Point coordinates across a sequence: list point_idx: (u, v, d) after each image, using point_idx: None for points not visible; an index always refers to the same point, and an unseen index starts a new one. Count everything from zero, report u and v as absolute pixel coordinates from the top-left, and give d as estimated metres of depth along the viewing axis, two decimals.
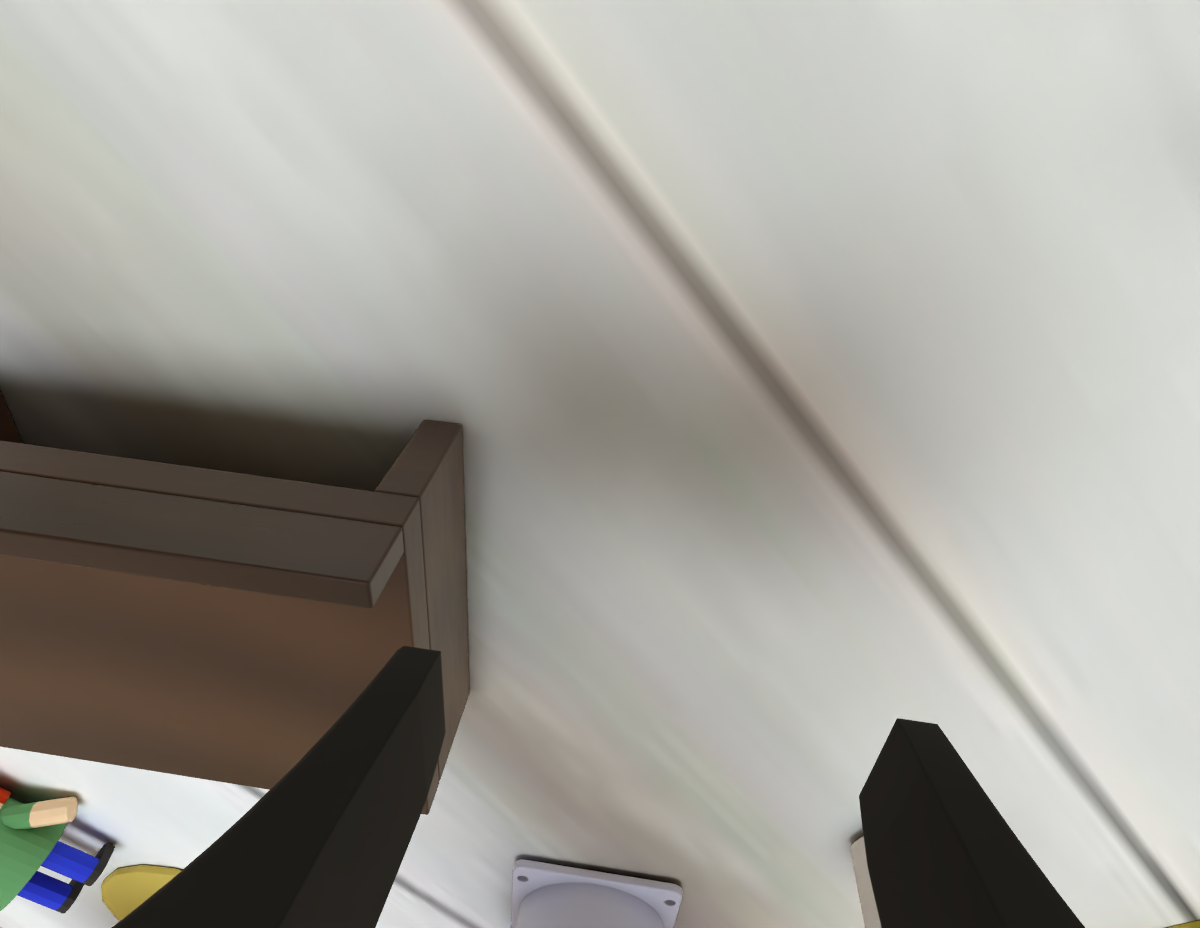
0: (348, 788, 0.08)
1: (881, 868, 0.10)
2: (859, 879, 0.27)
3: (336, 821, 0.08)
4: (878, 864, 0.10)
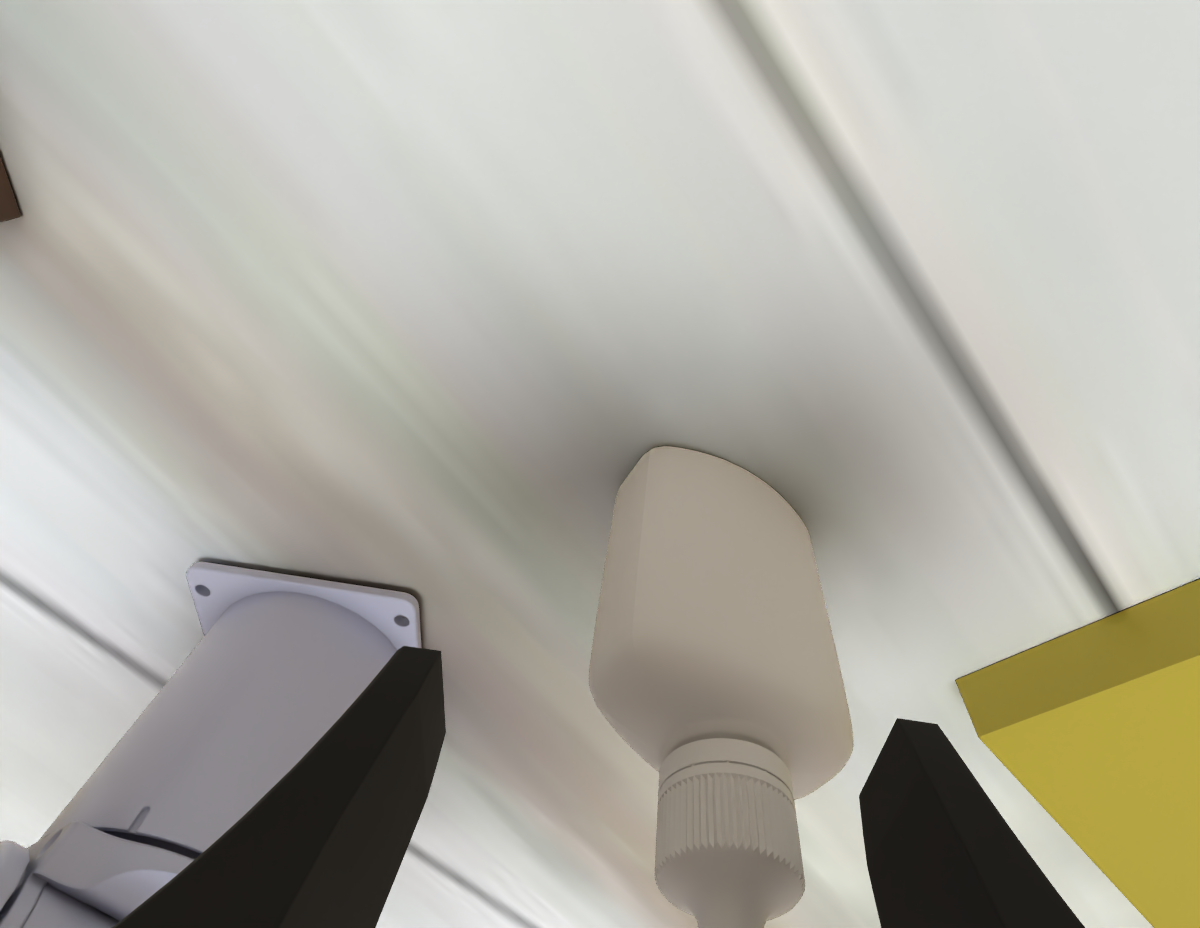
0: (348, 788, 0.08)
1: (881, 868, 0.10)
2: (614, 514, 0.18)
3: (336, 821, 0.08)
4: (878, 864, 0.10)
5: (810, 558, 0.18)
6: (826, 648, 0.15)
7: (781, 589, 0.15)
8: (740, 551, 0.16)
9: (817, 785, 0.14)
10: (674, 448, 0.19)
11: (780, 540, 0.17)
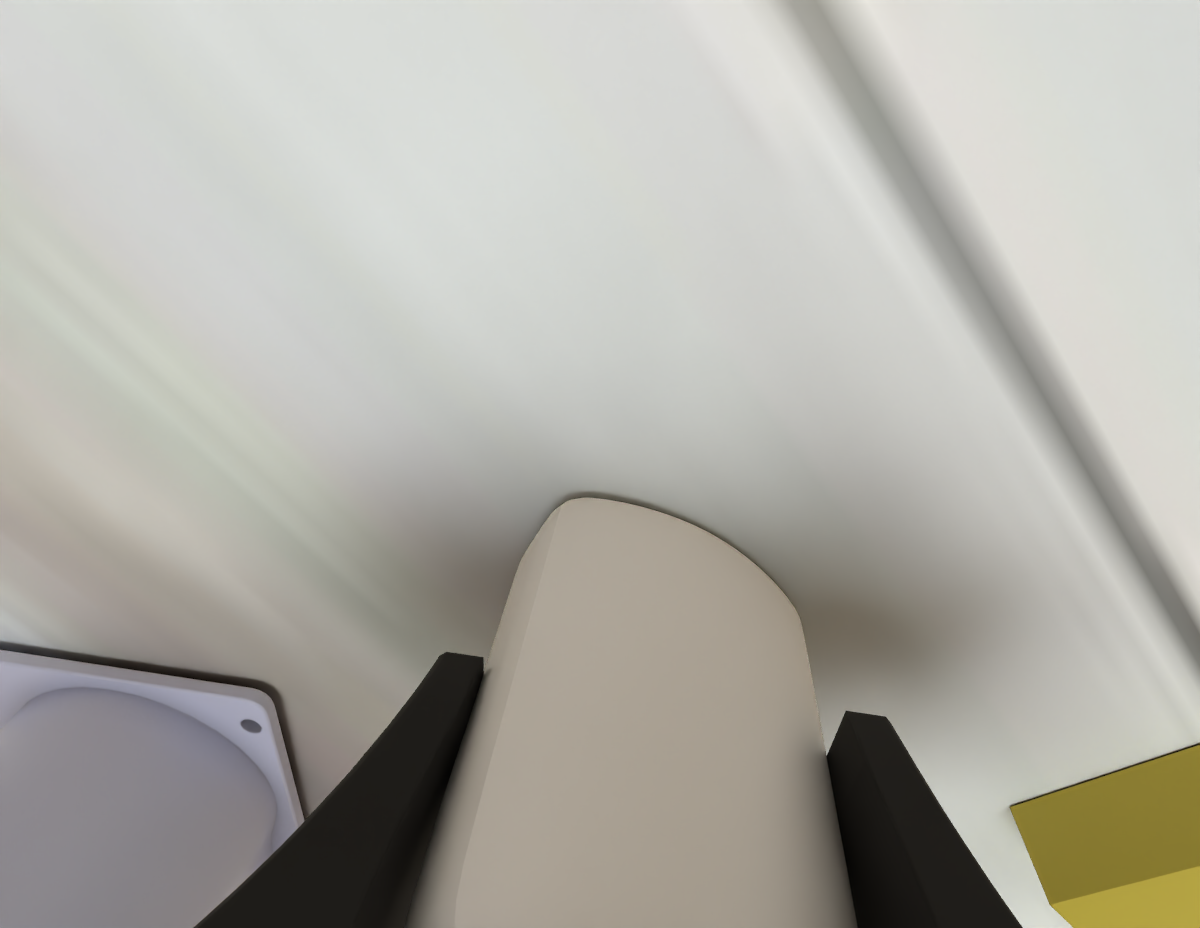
0: (403, 797, 0.08)
1: None
2: (506, 603, 0.12)
3: (394, 831, 0.08)
4: None
5: (802, 671, 0.12)
6: (826, 858, 0.09)
7: (750, 756, 0.09)
8: (683, 687, 0.10)
9: None
10: (598, 501, 0.13)
11: (754, 651, 0.11)
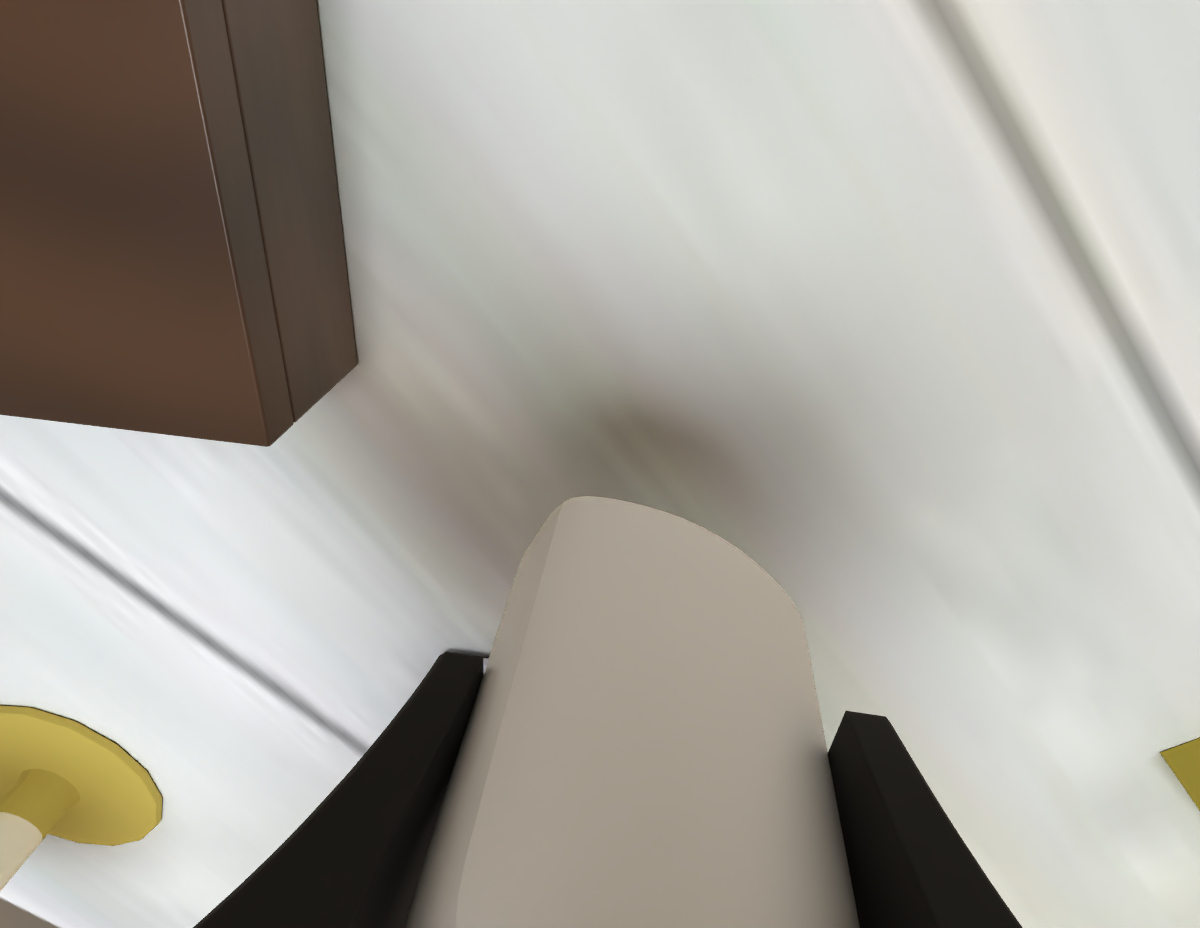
0: (403, 797, 0.08)
1: None
2: (507, 602, 0.12)
3: (394, 831, 0.08)
4: None
5: (803, 669, 0.12)
6: (828, 856, 0.09)
7: (751, 754, 0.09)
8: (683, 686, 0.10)
9: None
10: (599, 500, 0.13)
11: (755, 650, 0.11)
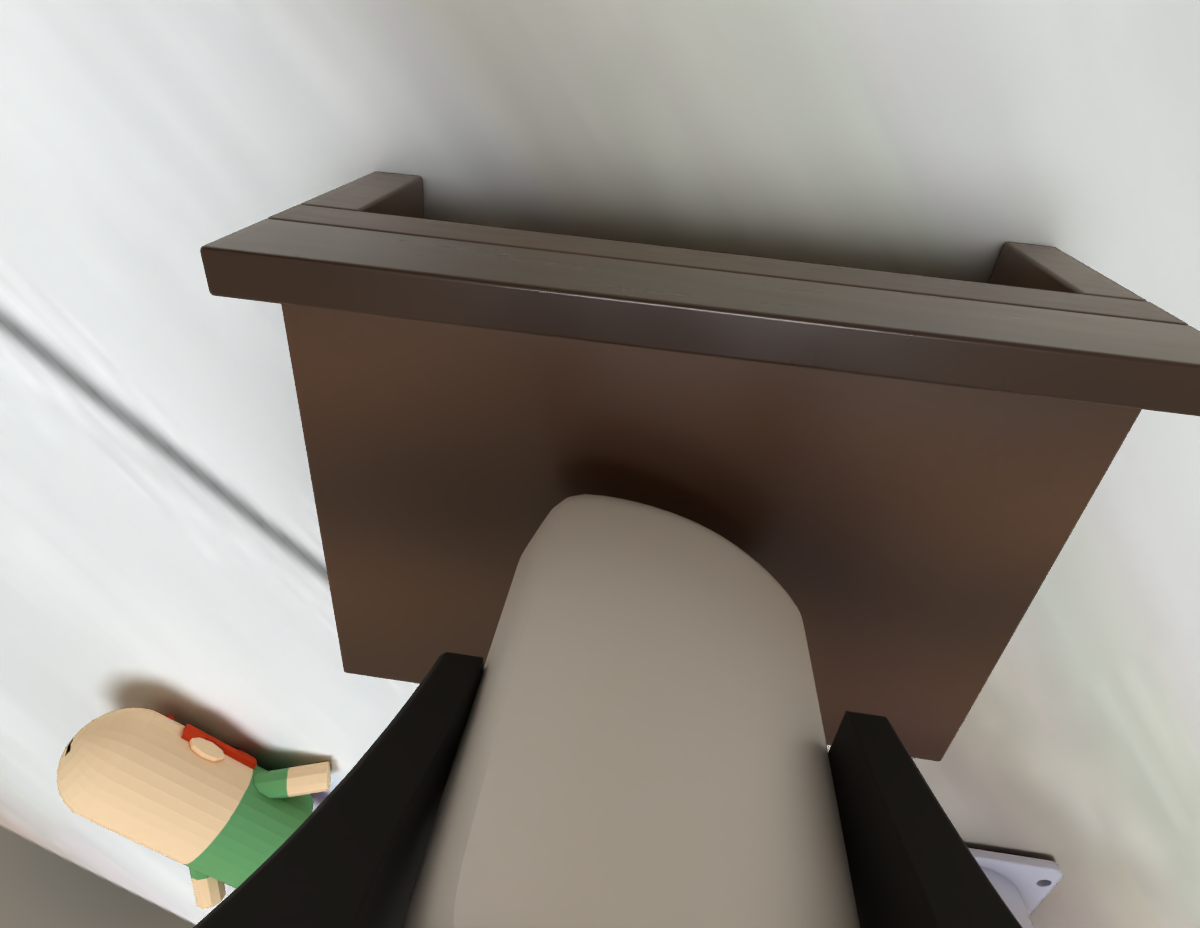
0: (404, 797, 0.08)
1: None
2: None
3: (395, 830, 0.08)
4: None
5: (803, 668, 0.12)
6: (828, 855, 0.09)
7: (751, 753, 0.09)
8: (683, 684, 0.09)
9: None
10: (598, 497, 0.13)
11: (755, 649, 0.11)
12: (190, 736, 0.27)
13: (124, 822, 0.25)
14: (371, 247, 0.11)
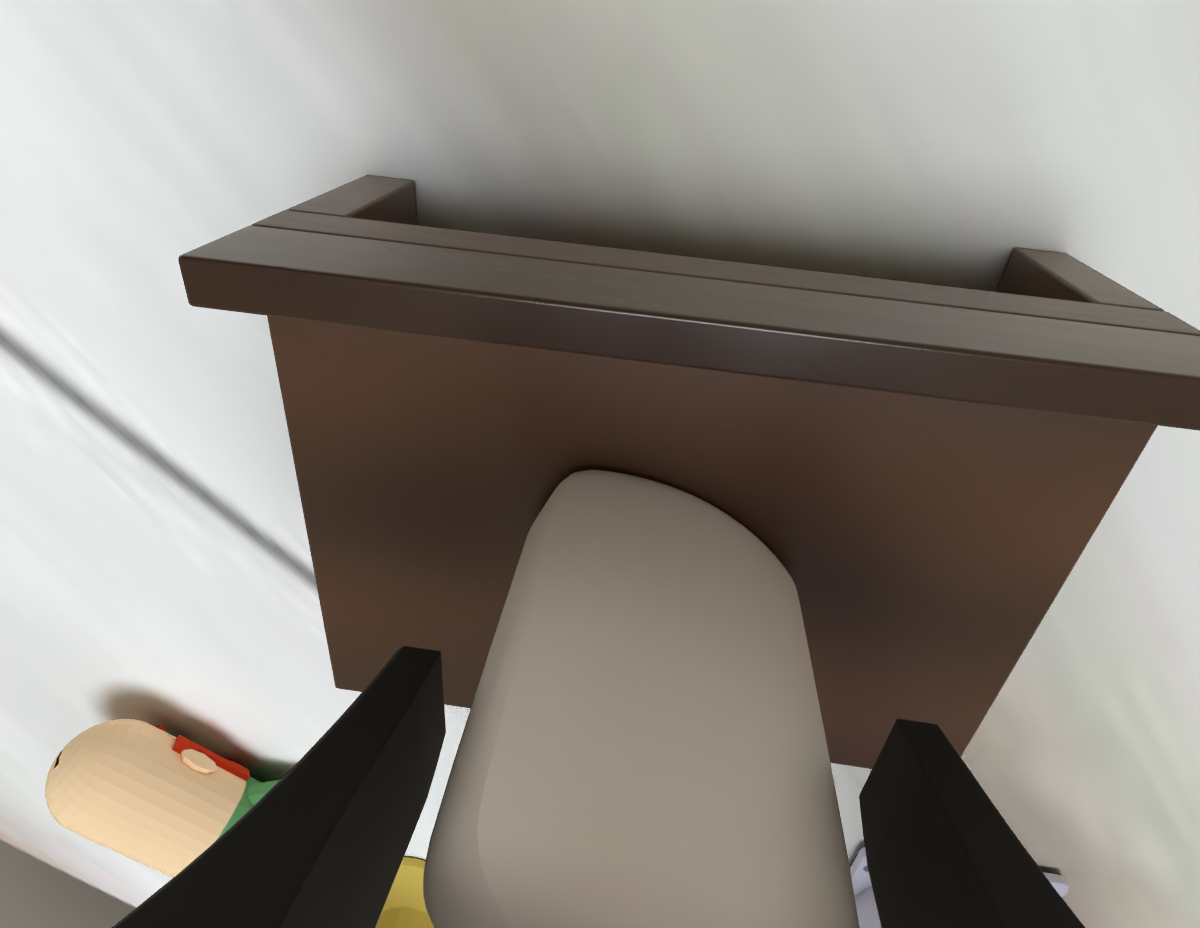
0: (348, 788, 0.08)
1: (881, 868, 0.10)
2: (516, 569, 0.13)
3: (336, 821, 0.08)
4: (878, 864, 0.10)
5: (797, 631, 0.12)
6: (819, 794, 0.10)
7: (747, 700, 0.10)
8: (684, 638, 0.10)
9: None
10: (603, 472, 0.13)
11: (752, 610, 0.12)
12: (182, 748, 0.27)
13: (115, 836, 0.25)
14: (357, 256, 0.11)
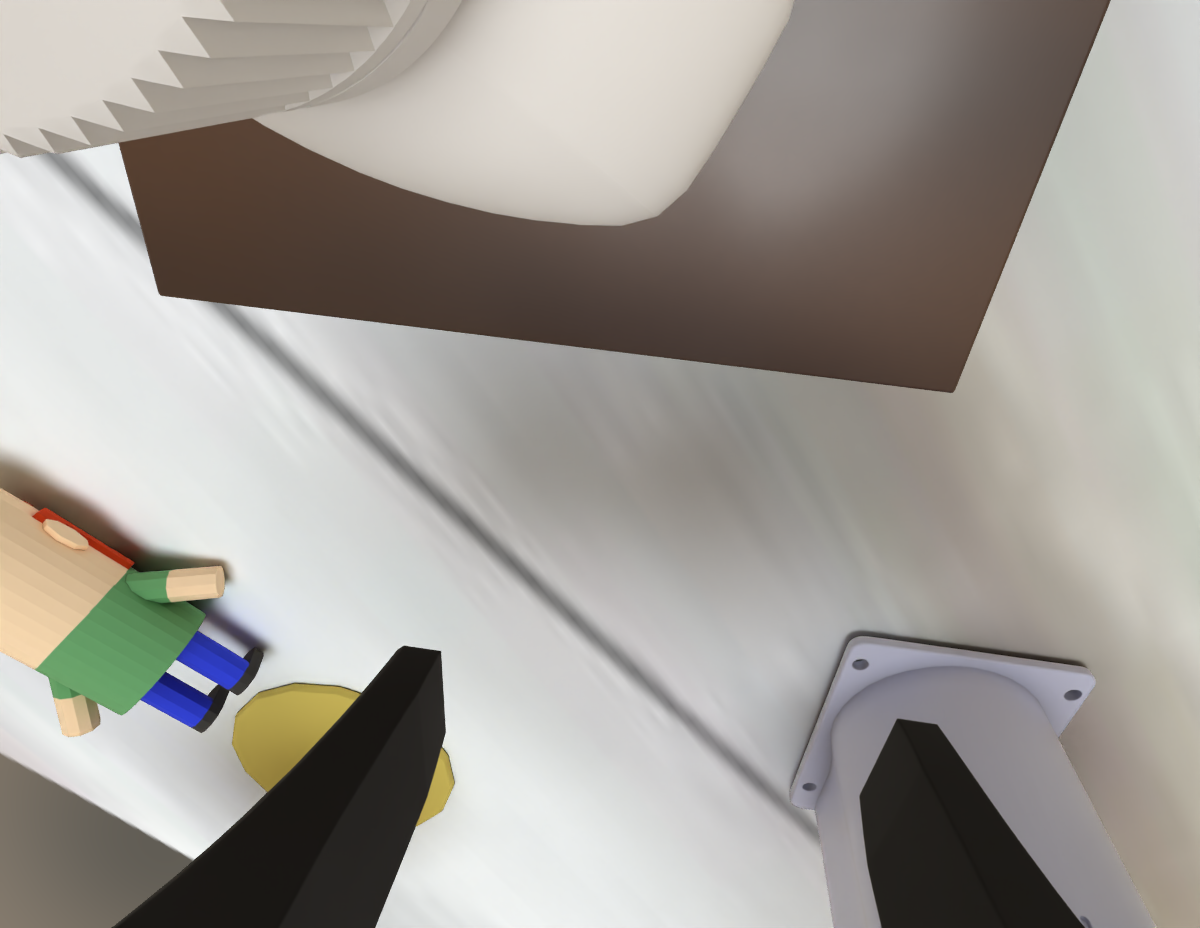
0: (348, 788, 0.08)
1: (881, 868, 0.10)
2: None
3: (336, 821, 0.08)
4: (878, 864, 0.10)
5: None
6: None
7: None
8: None
9: (674, 44, 0.04)
10: None
11: None
12: (45, 517, 0.23)
13: None
14: None
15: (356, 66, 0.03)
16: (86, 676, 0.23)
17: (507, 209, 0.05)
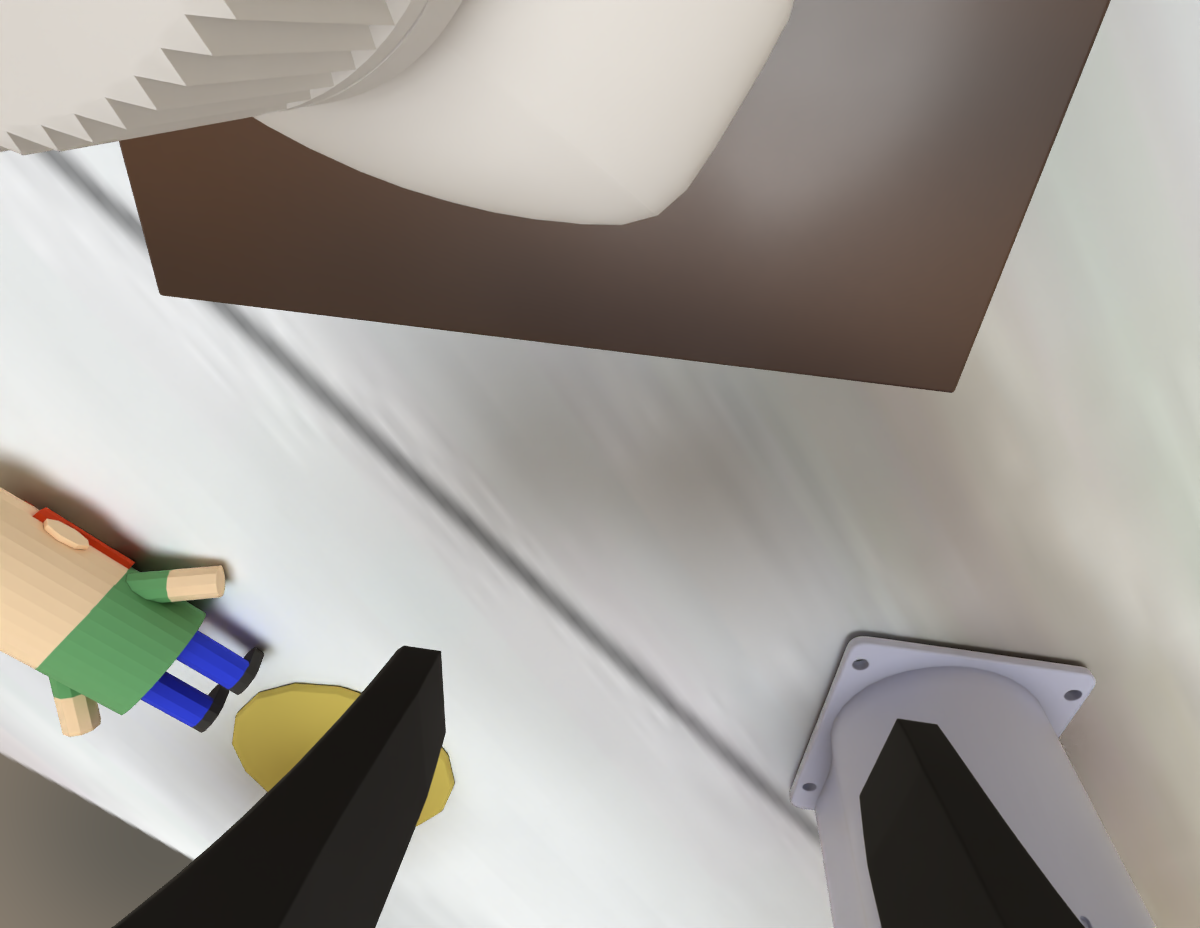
0: (348, 788, 0.08)
1: (881, 868, 0.10)
2: None
3: (336, 821, 0.08)
4: (878, 864, 0.10)
5: None
6: None
7: None
8: None
9: (674, 43, 0.04)
10: None
11: None
12: (45, 517, 0.23)
13: None
14: None
15: (358, 64, 0.03)
16: (86, 676, 0.23)
17: (508, 208, 0.05)
